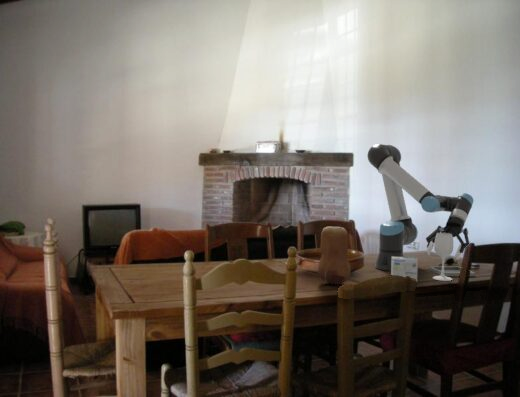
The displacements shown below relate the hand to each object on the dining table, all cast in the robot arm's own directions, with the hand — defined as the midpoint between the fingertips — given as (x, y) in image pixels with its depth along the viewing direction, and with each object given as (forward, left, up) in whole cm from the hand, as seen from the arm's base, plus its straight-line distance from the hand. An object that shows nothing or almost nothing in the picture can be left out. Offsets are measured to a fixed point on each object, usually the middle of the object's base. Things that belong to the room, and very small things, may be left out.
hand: (441, 255), depth 223 cm
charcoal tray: (+12, +14, -11) cm, 22 cm away
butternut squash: (-52, -9, -11) cm, 54 cm away
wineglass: (+1, +1, -11) cm, 11 cm away
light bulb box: (-19, -4, -11) cm, 22 cm away
